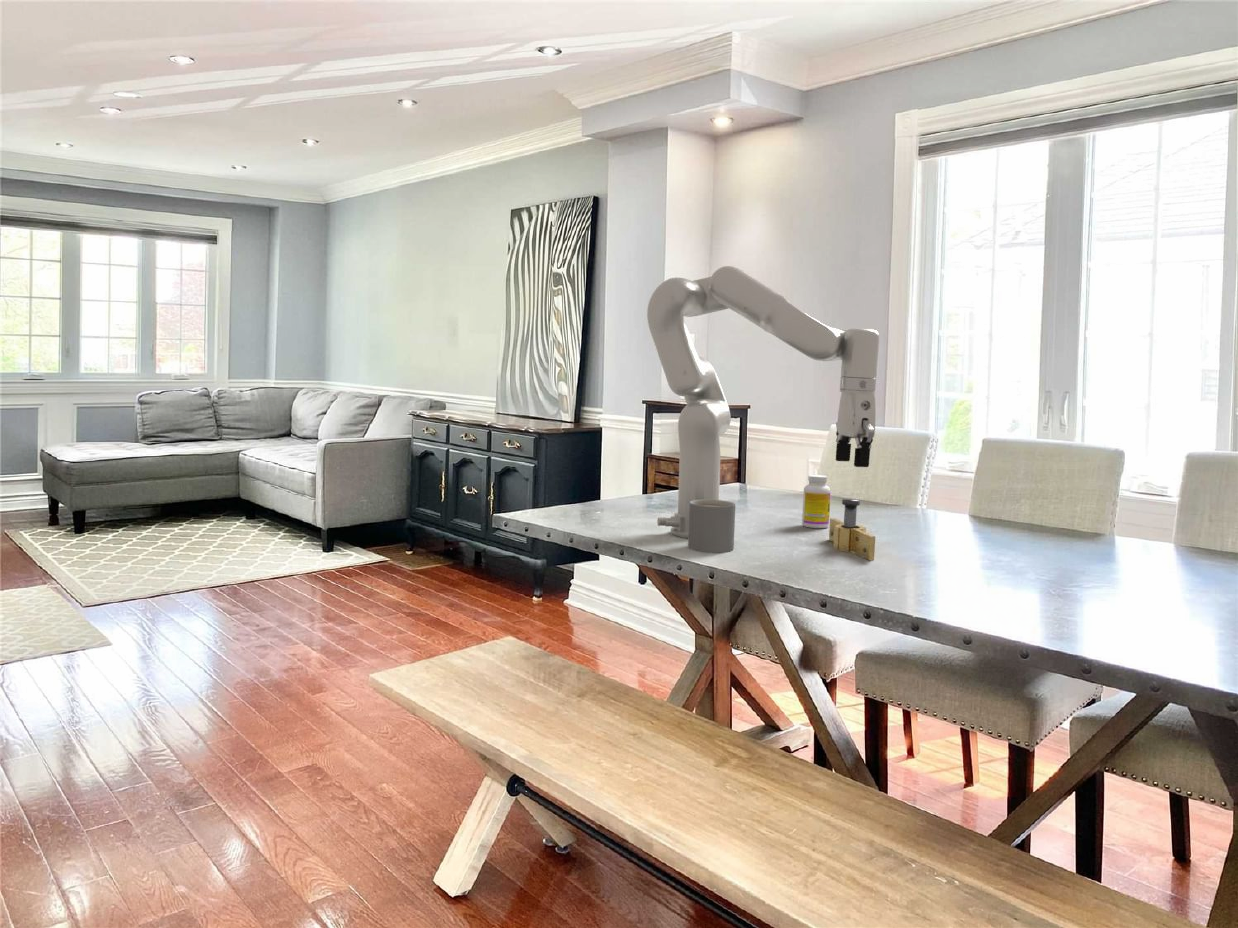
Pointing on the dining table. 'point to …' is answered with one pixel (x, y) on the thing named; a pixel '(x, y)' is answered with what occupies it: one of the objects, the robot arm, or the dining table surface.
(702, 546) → the coffee mug
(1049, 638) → the dining table surface
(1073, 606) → the dining table surface
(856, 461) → the robot arm
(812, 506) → the supplement bottle
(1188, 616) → the dining table surface
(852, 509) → the hinge pin
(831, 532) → the wooden hinge leaf
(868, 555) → the hinge base
